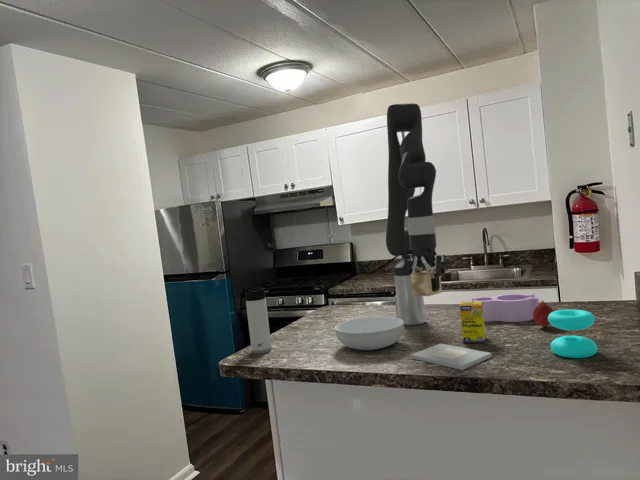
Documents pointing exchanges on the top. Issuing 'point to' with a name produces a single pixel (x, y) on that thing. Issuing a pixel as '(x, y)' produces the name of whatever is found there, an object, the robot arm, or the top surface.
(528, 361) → the top surface
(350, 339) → the serving bowl
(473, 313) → the supplement box
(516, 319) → the purple cup holder
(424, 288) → the block
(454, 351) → the board
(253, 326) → the travel mug
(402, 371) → the top surface
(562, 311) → the donuts
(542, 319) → the onion
